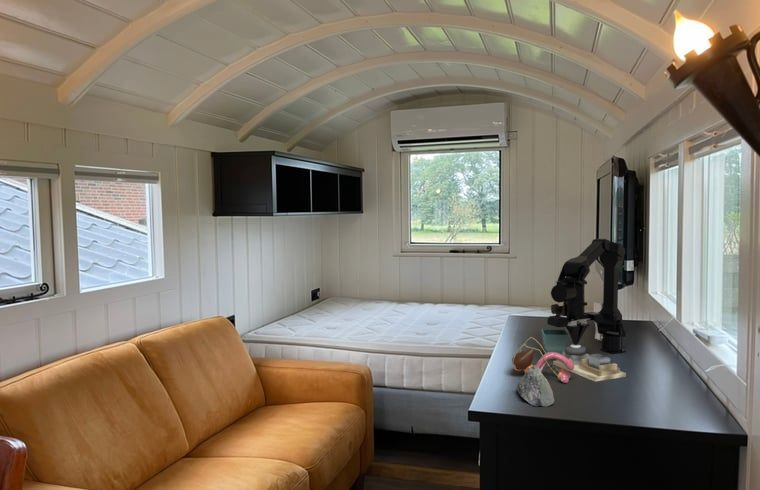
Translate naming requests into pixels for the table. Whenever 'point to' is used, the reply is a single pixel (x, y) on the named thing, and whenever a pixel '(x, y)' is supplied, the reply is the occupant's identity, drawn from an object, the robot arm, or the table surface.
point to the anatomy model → (541, 361)
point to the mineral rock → (535, 388)
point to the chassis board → (591, 368)
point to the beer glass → (597, 308)
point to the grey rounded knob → (575, 349)
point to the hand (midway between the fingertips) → (575, 344)
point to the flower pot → (555, 340)
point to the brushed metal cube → (598, 360)
